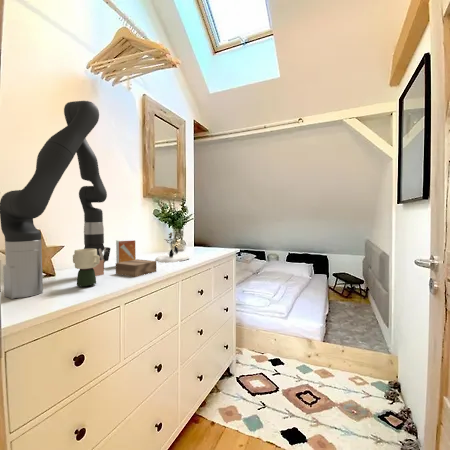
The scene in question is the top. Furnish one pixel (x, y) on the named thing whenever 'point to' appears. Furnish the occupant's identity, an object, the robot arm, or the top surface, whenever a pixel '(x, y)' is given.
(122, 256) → the small box
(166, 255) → the figurine
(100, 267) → the terracotta block
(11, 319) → the top surface
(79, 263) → the character mug
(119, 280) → the top surface
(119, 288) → the top surface
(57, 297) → the top surface
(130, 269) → the walnut block
